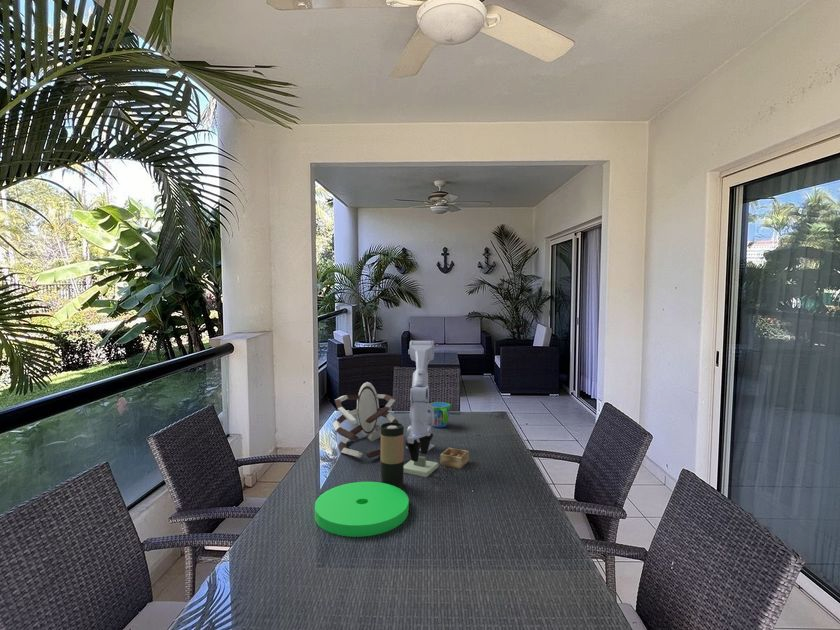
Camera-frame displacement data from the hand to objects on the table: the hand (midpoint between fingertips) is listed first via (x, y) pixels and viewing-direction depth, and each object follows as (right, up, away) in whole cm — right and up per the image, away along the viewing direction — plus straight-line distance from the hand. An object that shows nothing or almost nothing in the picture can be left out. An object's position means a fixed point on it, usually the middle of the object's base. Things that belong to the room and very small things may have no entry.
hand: (419, 457), depth 162 cm
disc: (-17, -7, -31) cm, 35 cm away
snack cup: (+9, -2, +52) cm, 53 cm away
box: (+13, -4, +6) cm, 15 cm away
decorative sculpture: (-22, -3, +24) cm, 32 cm away
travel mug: (-9, -5, -13) cm, 17 cm away
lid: (0, -4, 0) cm, 4 cm away
